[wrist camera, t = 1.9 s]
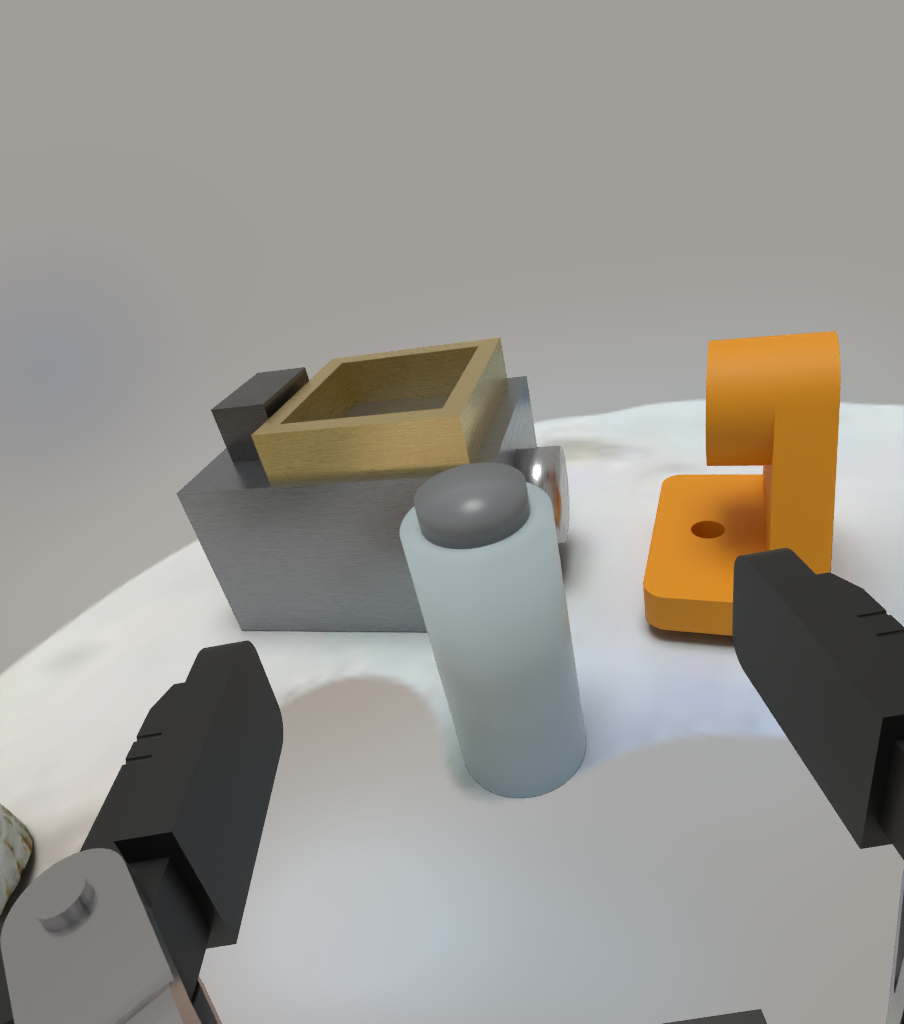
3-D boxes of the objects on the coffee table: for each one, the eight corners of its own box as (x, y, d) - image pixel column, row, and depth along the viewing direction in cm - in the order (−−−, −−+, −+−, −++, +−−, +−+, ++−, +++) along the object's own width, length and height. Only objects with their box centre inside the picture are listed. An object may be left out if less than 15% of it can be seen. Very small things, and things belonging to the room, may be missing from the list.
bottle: (589, 698, 28) (556, 447, 22) (582, 803, 24) (538, 531, 18) (476, 694, 30) (416, 458, 24) (450, 792, 26) (370, 538, 20)
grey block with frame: (578, 510, 41) (556, 318, 35) (562, 633, 32) (528, 402, 26) (318, 522, 46) (258, 357, 40) (241, 630, 37) (150, 439, 31)
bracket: (665, 514, 39) (657, 311, 33) (805, 517, 36) (824, 295, 30) (643, 641, 30) (627, 400, 24) (822, 658, 28) (854, 389, 22)
